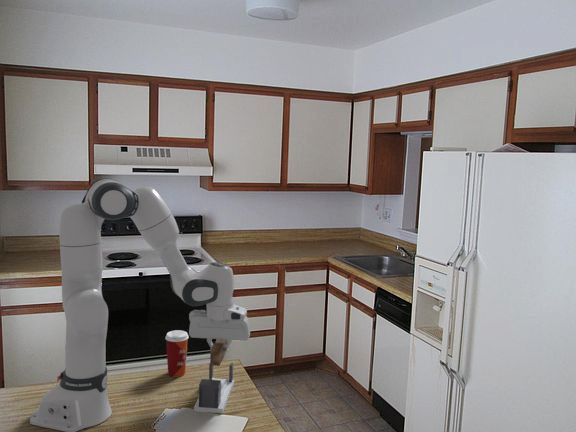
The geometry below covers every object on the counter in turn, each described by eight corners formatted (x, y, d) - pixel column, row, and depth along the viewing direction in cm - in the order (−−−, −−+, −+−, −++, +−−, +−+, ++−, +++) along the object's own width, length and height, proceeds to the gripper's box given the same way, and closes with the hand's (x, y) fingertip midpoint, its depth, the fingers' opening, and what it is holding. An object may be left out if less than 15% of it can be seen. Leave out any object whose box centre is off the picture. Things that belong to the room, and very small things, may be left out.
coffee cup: (185, 379, 175) (186, 338, 173) (162, 378, 175) (162, 337, 173) (190, 368, 183) (190, 329, 181) (168, 368, 183) (168, 329, 181)
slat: (210, 365, 159) (210, 350, 158) (219, 348, 173) (219, 334, 172) (219, 365, 159) (219, 351, 158) (227, 348, 173) (228, 335, 172)
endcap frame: (193, 411, 153) (194, 383, 152) (208, 382, 173) (209, 357, 172) (222, 413, 153) (223, 385, 151) (234, 383, 172) (234, 359, 171)
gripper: (186, 312, 161) (186, 352, 163) (248, 315, 160) (247, 356, 162) (191, 306, 168) (191, 345, 169) (251, 309, 166) (250, 348, 168)
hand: (219, 350), depth 166 cm, fingers closed on slat, 3 cm apart
